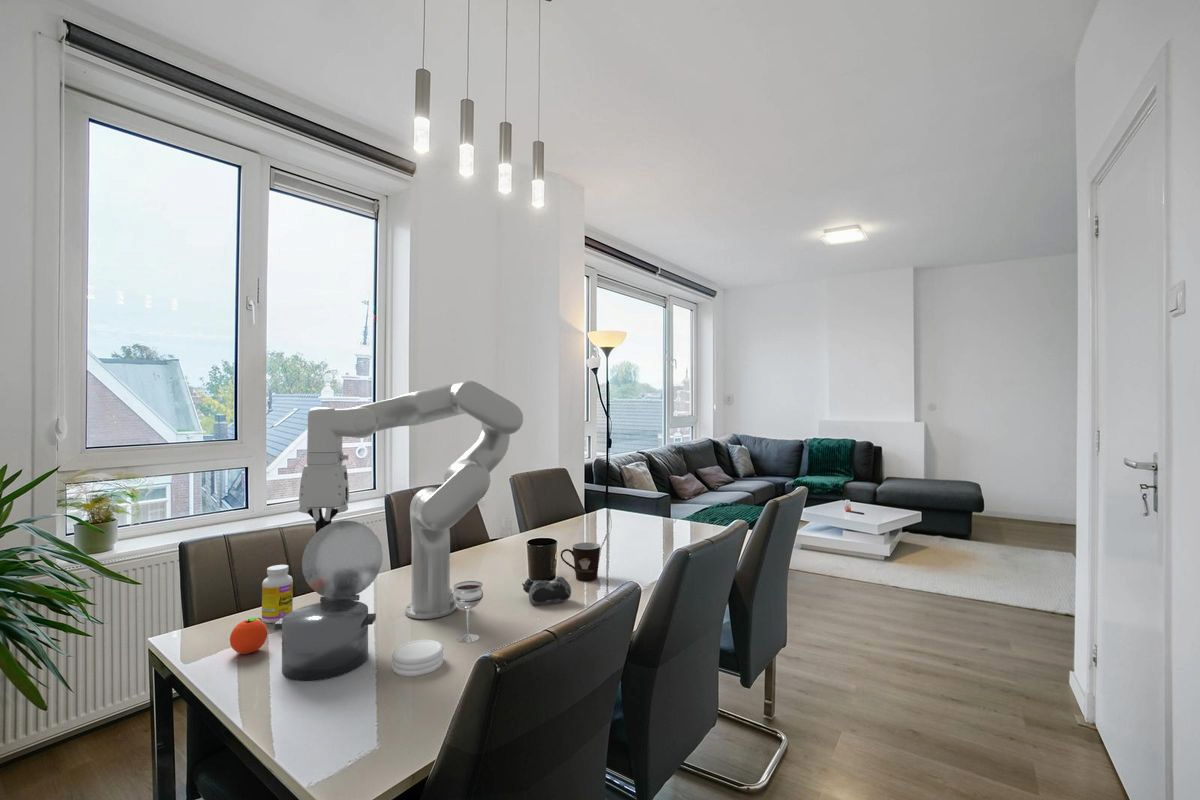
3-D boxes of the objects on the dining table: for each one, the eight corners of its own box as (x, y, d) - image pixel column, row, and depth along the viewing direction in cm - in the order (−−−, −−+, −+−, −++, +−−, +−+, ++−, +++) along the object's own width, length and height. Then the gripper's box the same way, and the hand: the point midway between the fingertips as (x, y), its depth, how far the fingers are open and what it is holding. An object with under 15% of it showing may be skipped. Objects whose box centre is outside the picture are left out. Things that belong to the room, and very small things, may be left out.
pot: (382, 643, 126) (382, 598, 126) (363, 677, 110) (363, 625, 110) (292, 648, 123) (293, 602, 123) (259, 684, 107) (260, 631, 107)
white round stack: (425, 651, 122) (425, 634, 122) (453, 664, 116) (453, 647, 116) (382, 667, 115) (382, 650, 115) (409, 682, 108) (409, 664, 108)
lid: (298, 603, 124) (302, 602, 126) (379, 599, 126) (381, 598, 128) (305, 521, 128) (309, 522, 130) (383, 519, 131) (386, 519, 133)
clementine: (246, 643, 126) (247, 611, 126) (277, 643, 126) (277, 611, 126) (221, 659, 118) (221, 625, 118) (254, 659, 118) (254, 625, 118)
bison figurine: (572, 605, 151) (563, 591, 160) (572, 579, 150) (563, 566, 160) (528, 610, 147) (521, 596, 157) (528, 584, 147) (521, 571, 156)
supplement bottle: (278, 625, 136) (278, 571, 137) (255, 623, 138) (255, 570, 138) (298, 615, 143) (298, 564, 143) (276, 613, 144) (276, 562, 144)
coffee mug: (605, 577, 174) (605, 544, 174) (590, 584, 167) (590, 550, 167) (574, 571, 180) (574, 539, 181) (558, 578, 173) (558, 545, 173)
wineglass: (450, 635, 130) (450, 582, 130) (480, 630, 133) (480, 579, 133) (455, 646, 124) (455, 591, 124) (486, 641, 127) (486, 587, 127)
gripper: (362, 458, 139) (360, 532, 138) (297, 458, 136) (295, 534, 136) (353, 460, 131) (351, 539, 131) (284, 461, 129) (283, 541, 129)
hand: (323, 536), depth 134 cm, fingers closed
